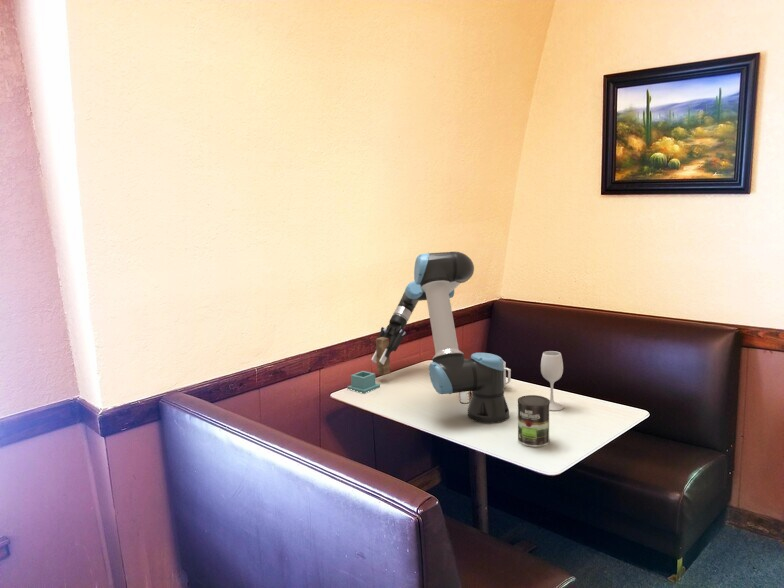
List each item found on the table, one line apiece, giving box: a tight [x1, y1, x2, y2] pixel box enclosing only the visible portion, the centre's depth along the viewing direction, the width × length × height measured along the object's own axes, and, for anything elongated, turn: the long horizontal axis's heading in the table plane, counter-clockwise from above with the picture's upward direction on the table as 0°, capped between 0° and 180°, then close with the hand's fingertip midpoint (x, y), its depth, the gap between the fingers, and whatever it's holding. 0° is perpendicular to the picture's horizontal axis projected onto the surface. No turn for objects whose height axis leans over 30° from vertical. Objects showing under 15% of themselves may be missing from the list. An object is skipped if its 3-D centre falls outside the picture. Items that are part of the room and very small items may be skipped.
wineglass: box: [540, 350, 565, 411], centre depth 227 cm, size 9×9×21 cm
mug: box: [503, 360, 512, 389], centre depth 251 cm, size 12×9×11 cm
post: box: [375, 337, 391, 376], centre depth 266 cm, size 4×4×16 cm
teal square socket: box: [346, 370, 381, 394], centre depth 259 cm, size 10×10×6 cm
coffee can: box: [517, 394, 550, 448], centre depth 198 cm, size 10×10×14 cm
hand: (377, 362), depth 264 cm, fingers closed on post, 4 cm apart
